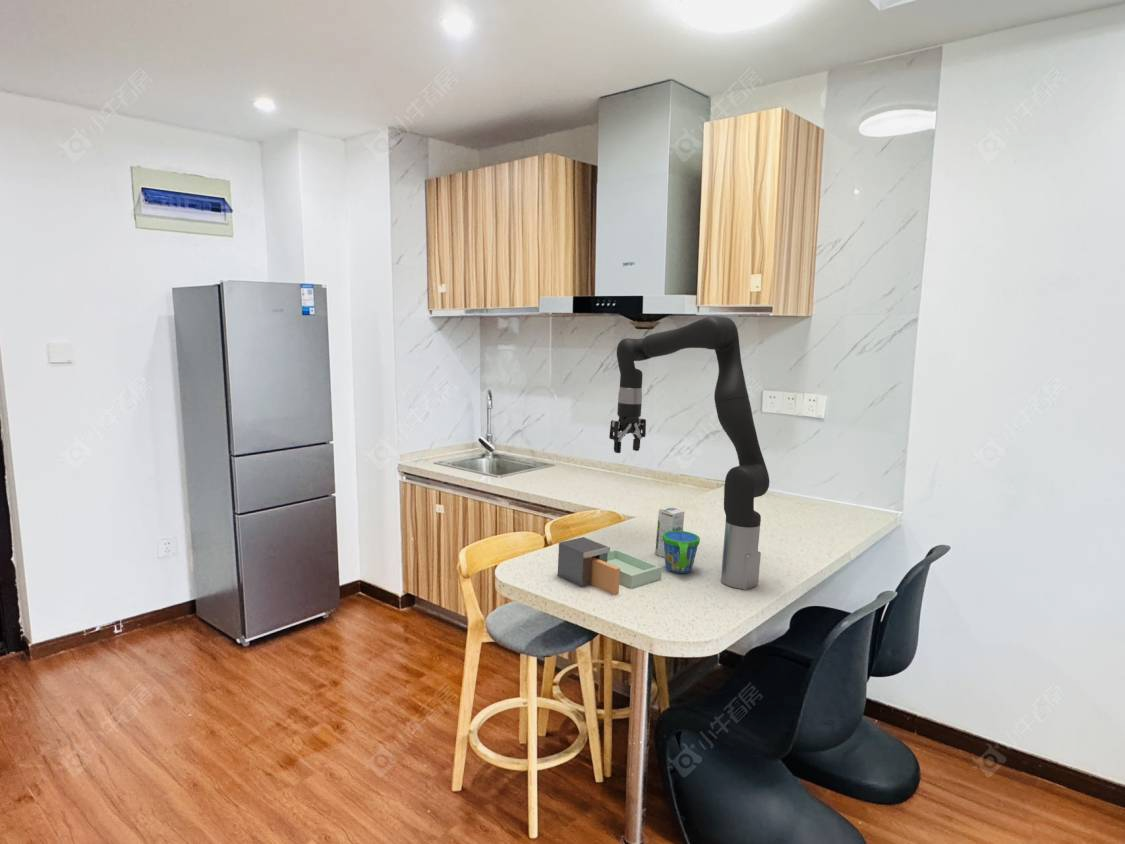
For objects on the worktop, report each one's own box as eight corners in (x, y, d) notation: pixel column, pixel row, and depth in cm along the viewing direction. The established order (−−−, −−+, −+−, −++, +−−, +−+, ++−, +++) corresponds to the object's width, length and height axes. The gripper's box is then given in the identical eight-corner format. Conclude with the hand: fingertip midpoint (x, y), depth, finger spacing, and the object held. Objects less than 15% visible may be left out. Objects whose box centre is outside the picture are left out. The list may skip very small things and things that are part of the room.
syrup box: (665, 550, 209) (669, 505, 207) (681, 556, 205) (684, 510, 203) (654, 554, 205) (657, 508, 203) (670, 559, 201) (673, 513, 199)
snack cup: (698, 581, 185) (700, 546, 183) (659, 577, 187) (662, 542, 185) (696, 562, 200) (699, 529, 199) (661, 558, 202) (663, 526, 200)
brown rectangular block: (618, 593, 174) (620, 568, 173) (614, 595, 173) (615, 569, 172) (592, 581, 181) (593, 557, 180) (588, 582, 180) (589, 558, 179)
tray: (661, 579, 185) (661, 566, 185) (631, 588, 178) (631, 575, 177) (615, 560, 199) (615, 548, 198) (585, 568, 191) (586, 556, 191)
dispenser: (608, 581, 182) (610, 547, 181) (583, 588, 176) (585, 553, 175) (581, 569, 190) (583, 536, 189) (557, 575, 184) (559, 542, 183)
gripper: (622, 403, 205) (619, 455, 207) (653, 402, 214) (650, 451, 216) (605, 401, 211) (602, 451, 213) (636, 399, 220) (633, 448, 222)
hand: (626, 451), depth 215 cm, fingers open, 8 cm apart
